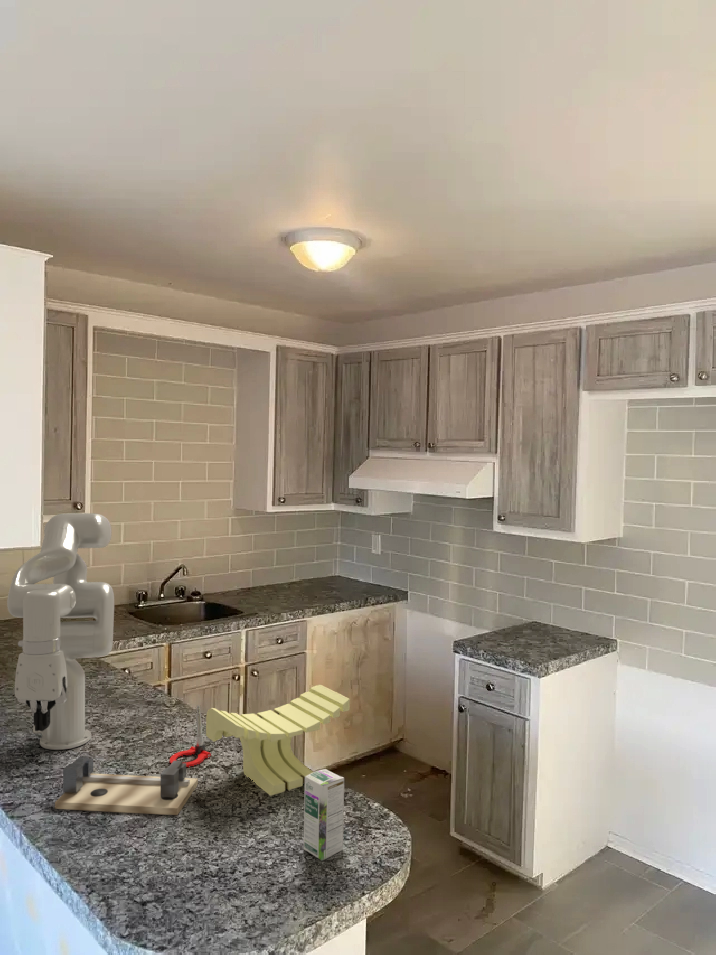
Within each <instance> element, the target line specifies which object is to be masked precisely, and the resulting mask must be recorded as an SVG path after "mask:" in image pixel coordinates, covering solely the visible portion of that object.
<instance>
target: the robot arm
mask: <svg viewBox="0 0 716 955" xmlns="http://www.w3.org/2000/svg"><path fill="white" fill-rule="evenodd" d="M111 538H112V526H111V522H110V521H109V519H108V518H107V517H106V516H104V515H103V514H100V513H92V512H88V513H87V512H82V513H71V512H70V513H68V512H67V513H60V514H56V515H53V516H51V518H50V519H49V520H48V521H47V522H46V523H45V524H44V528H43V538H42V543H41V547H40V551H39V553H37V554H35V555H34V556H32V557H31V558H29V559H28V560H26V562H24V563H23V564H22V565H21V566H20V567H18V569H17V570H16V571H15V573H14V575H13V577H12V580H11V583H10V586H9V590H8V594H7V600H6V605H7V611H8V613H9V614H10V615H11V616H13V617H15V618H19V619H22V621H23V622H22V624H23V626H22V630H23V631H22V632H23V634H22V635H23V636H22V640H18V641H17V645H18V647H21V648H22V652H21V653H19V655H18V660H17V664H16V669H15V670H16V671H15V680H14V697H15V698H16V699H17V701H18V703H22V704H26V705H27V706H28V707H29V709H30V710H31V713H33V727H32V729H33V730H32V733H33V734H35V735H36V734H37V735H38V734H41V736H40V739H39V745H40V746H41V747H42V748H44V749H46V750H52V751H53V750H55V751H61V750H68V749H75V748H77V747H81V746H82V745H85V744H86V743H89V741H91V739H92V732H91V730H89V729H87V728H86V696H85V695H86V675H85V671H84V669H83V666H81V664H80V663H79V662H78V661H77V659H86V658H87V659H88V658H100V657H101V658H102V657H106V656H108V655H109V654H110V653H111V652H112V649H113V644H114V642H113V641H114V627H115V626H114V622H115V620H114V619H115V594H114V589H113V586H111V585H110V584H109V583H107V582H103V581H93V582H92V581H89V582H88V581H87V580H88V579H87V577H88V566H87V563H86V562H85V560H84V558H82V557H81V555H80V554H78V550H79V549H101V548H102V549H103V548H107V546H108V545H109V544H110V542H111V540H112V539H111ZM50 578H52V579H53V580H52V583H39V582H41V581H45V580H48V579H50ZM82 618H83V619H85V618H93V619H95V620H86V621H85V620H84V621H82V620H81V621H80V620H79V621H78V620H76V621H61V619H82Z"/></svg>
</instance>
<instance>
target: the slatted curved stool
mask: <svg viewBox="0 0 716 955" xmlns="http://www.w3.org/2000/svg"><path fill="white" fill-rule="evenodd" d="M350 701H351V700H350V698H349V697H346V696H344V695H343V694H341V693H339V692H337V691H334V690H332V689H331V688H328V687H326V686H324V685H322V684H317V685H314V686H312V687H310V688H309V690H308V691H306V692H303V693H301V694H300V695H299V697H297V698H294V699H292V700H289V703H287V704H283V705H280V706H279V707H275V708H273V710H272V709H269V710H265V711H261V712H257V713H245V714H244V713H241V714H240V715H239V714H238V713H236V712H230V713H229V712H228V711H226V710H219V709H217V708H214V707H210V708H209V709H208V710H207V712H206V717H205V737H207V739H209V740H210V741H212V742H213V743H215V742H217V741H219V740H220V739H222V738H223V737H224V738H229V737H234V738H235V739H239V740H240V743H241V747H242V754H243V755H242V756H243V758H242V770H243V774H244V776H245V775H246V776H245V777H247V778H248V777H249V778H250V779H251V780H250V779H249V778H248V779H249V780H250V781H252V780H253V781H252V782H253V783H254V782H255V783H256V784H255V783H254V784H255V785H256V786H258V787H259V788H260V789H261V790H263V791H264V792H265V793H266V794H268V795H269V796H270V797H271V796H274V795H278V794H281V793H284V792H286V790H288V791H291V790H293V789H297V788H300V787H303V784H304V785H305V776H307V775H309V774H311V773H313V772H314V771H313V770H311V769H310V768H309V767H307V766H306V765H305V764H304V763H302V762H301V761H300V760H299V759H298V758H297V756H296V755H295V754H294V752H293V751H292V747H291V743H292V742H291V741H292V738H293V737H295V736H300V735H303V734H304V733H306V734H308V733H311V732H315V731H318V730H321V724H322V725H329V724H330V723H331V718H333V719H335V718H339V717H341V712H342V713H343V712H347V711H348V712H349V711H350V708H351V707H350V705H351V704H350Z"/></svg>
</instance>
